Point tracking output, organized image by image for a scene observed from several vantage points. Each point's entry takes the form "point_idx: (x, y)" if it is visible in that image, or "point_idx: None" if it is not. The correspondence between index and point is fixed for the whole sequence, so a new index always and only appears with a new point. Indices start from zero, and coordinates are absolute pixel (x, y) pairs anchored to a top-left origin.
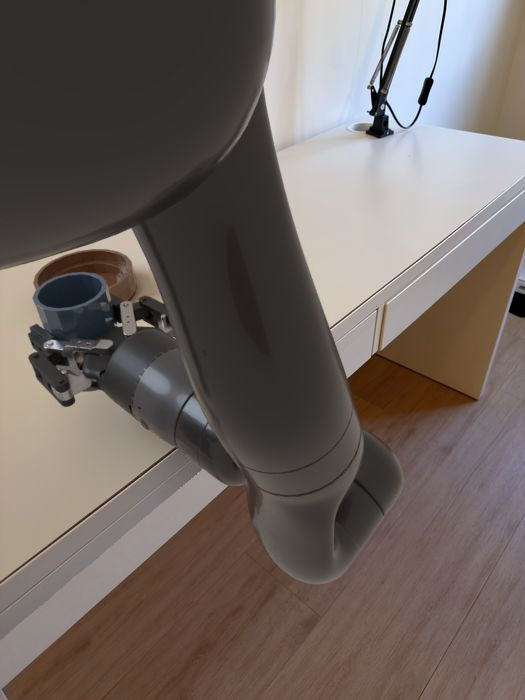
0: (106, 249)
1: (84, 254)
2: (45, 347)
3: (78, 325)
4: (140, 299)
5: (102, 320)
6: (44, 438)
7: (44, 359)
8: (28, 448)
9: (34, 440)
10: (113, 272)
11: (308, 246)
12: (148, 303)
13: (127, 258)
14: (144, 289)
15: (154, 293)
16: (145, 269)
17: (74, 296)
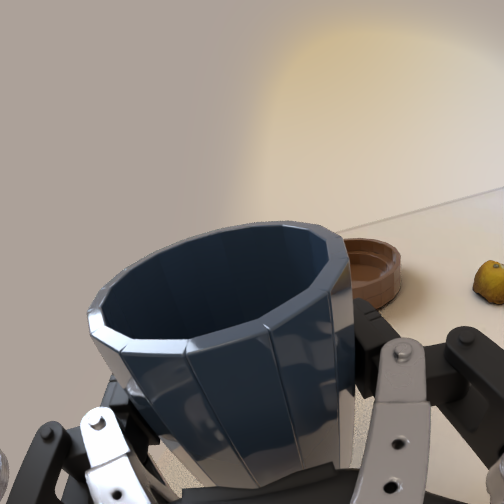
0: (374, 239)
1: (351, 242)
2: (80, 426)
3: (164, 418)
4: (453, 340)
5: (281, 423)
6: (195, 483)
7: (44, 462)
8: (172, 485)
9: (184, 478)
10: (377, 266)
11: None
12: (482, 364)
13: (396, 250)
14: (409, 291)
15: (420, 298)
16: (411, 267)
17: (264, 289)
